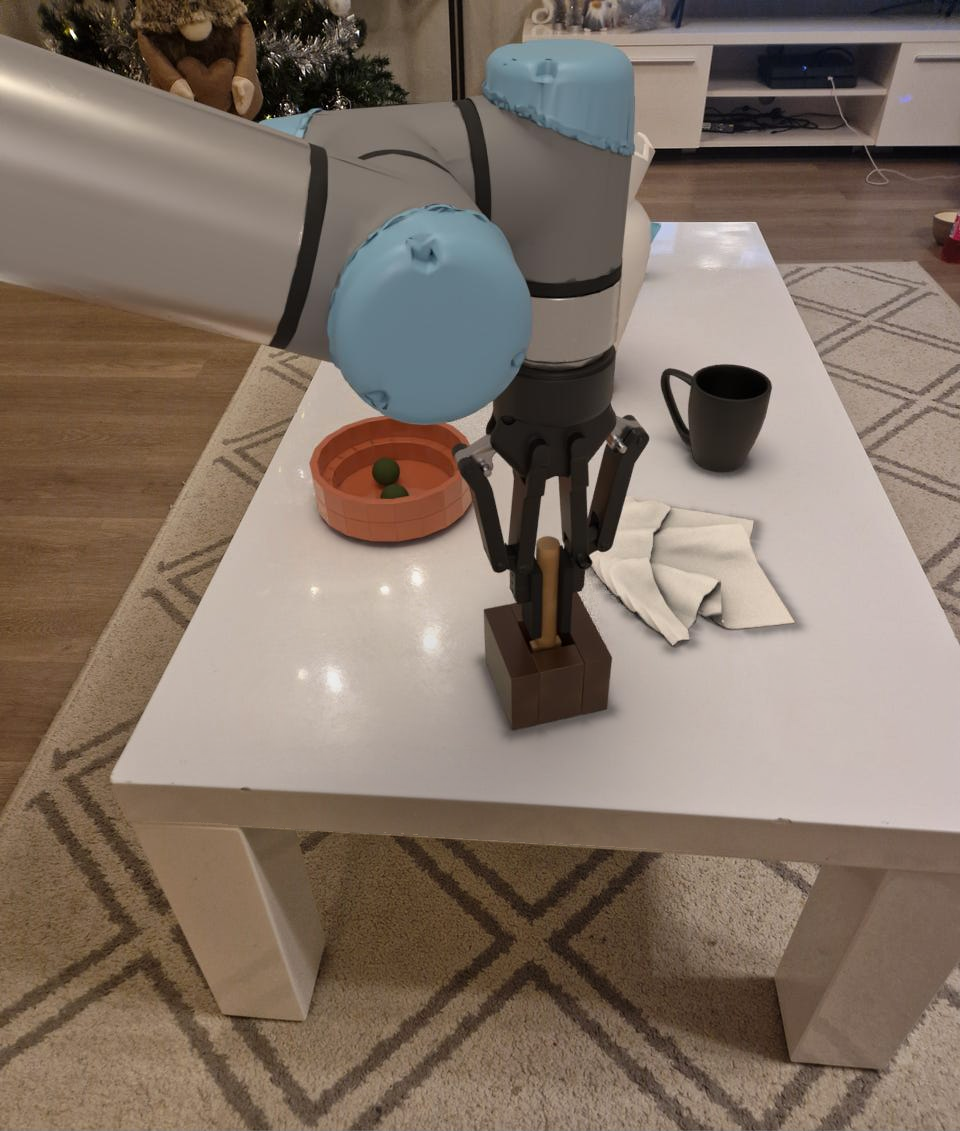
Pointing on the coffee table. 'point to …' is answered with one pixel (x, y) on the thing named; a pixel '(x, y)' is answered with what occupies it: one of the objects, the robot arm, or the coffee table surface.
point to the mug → (720, 413)
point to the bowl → (423, 473)
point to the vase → (635, 235)
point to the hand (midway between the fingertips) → (545, 623)
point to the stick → (548, 593)
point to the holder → (546, 667)
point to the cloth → (687, 570)
